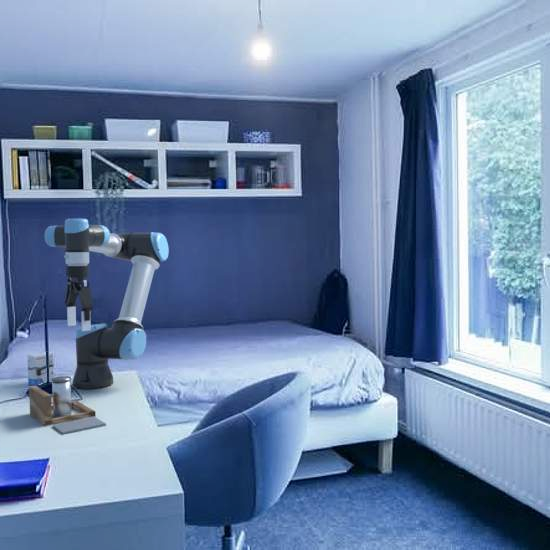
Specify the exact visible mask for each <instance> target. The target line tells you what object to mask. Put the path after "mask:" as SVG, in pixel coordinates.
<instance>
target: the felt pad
mask: <svg viewBox="0 0 550 550" xmlns="http://www.w3.org/2000/svg"><path fill="white" fill-rule="evenodd" d="M105 426H107V423H106V422H104V421H102V420H101V419H99V418H98V417H96V416H93V417H88V418H83V419H78V420H73V421H68V422H63V423H58V424H53V425H52V428H54V430H56V431H57V432H59V433H60V434H62V435H67V434H72V433H76V432H82V431H86V430H91V429H95V428H96V429H97V428H101V427H105Z"/></svg>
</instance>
